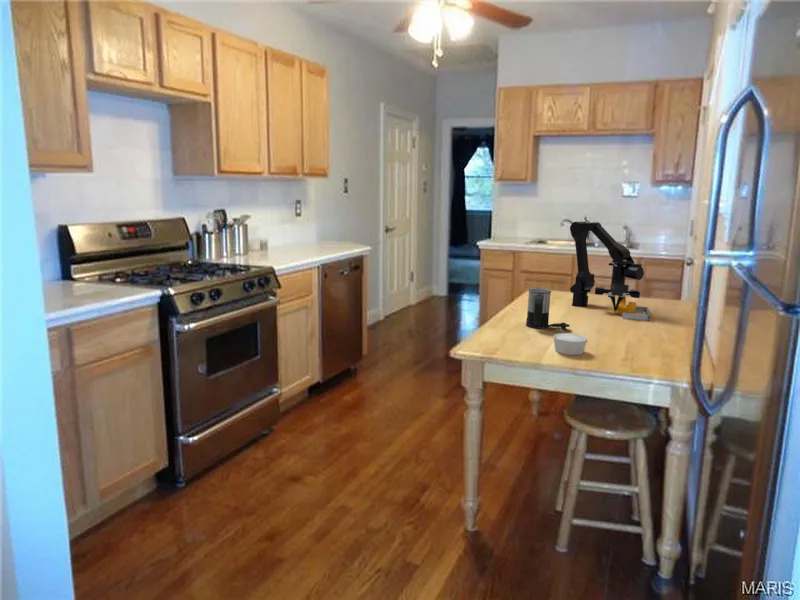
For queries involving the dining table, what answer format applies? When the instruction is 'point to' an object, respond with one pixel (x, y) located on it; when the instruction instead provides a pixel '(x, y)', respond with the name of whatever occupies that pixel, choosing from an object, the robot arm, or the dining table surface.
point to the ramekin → (569, 343)
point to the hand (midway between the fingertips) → (615, 310)
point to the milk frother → (540, 309)
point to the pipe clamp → (625, 307)
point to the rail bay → (638, 316)
